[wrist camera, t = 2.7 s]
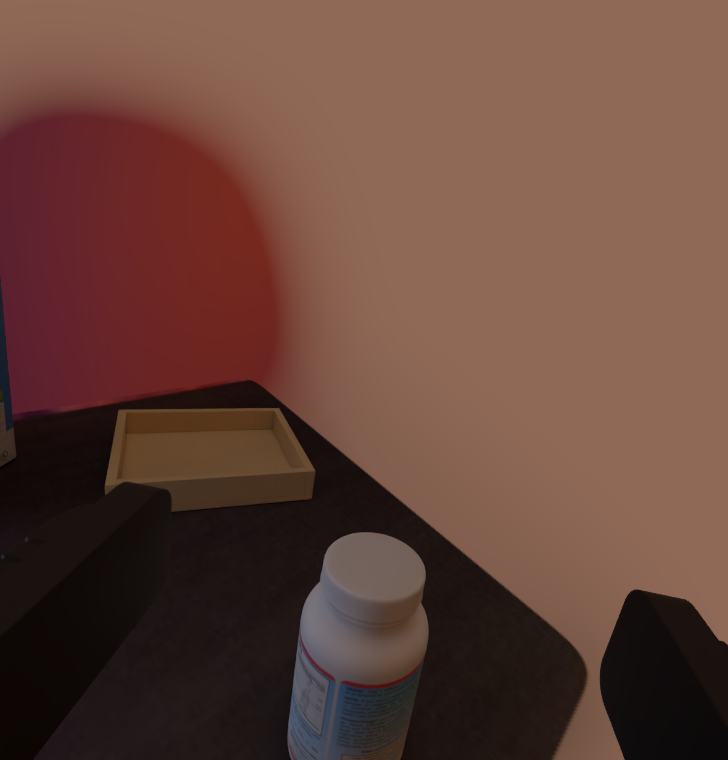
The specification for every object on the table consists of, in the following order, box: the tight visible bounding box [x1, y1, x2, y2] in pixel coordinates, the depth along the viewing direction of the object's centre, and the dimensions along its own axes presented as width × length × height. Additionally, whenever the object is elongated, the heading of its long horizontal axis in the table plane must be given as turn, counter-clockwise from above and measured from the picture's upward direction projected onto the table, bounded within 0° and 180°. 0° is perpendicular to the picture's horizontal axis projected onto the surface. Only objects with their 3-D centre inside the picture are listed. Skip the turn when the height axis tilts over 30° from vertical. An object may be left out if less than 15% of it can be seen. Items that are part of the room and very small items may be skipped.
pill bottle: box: [288, 533, 428, 760], centre depth 23 cm, size 6×6×11 cm
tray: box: [105, 408, 315, 512], centre depth 49 cm, size 18×16×3 cm
